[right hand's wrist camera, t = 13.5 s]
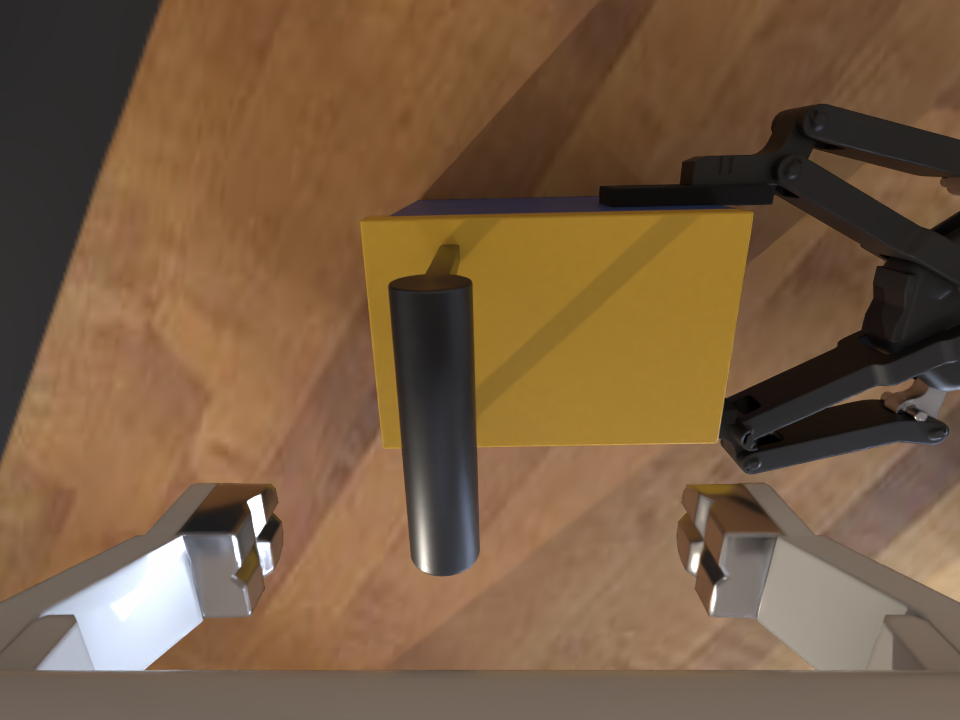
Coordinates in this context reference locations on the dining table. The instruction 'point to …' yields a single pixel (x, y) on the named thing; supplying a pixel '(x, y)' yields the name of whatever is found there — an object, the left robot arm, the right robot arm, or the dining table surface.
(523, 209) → the chest
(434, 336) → the lid
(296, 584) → the dining table surface
